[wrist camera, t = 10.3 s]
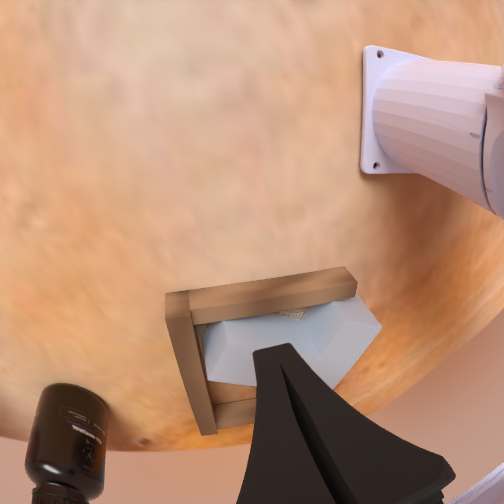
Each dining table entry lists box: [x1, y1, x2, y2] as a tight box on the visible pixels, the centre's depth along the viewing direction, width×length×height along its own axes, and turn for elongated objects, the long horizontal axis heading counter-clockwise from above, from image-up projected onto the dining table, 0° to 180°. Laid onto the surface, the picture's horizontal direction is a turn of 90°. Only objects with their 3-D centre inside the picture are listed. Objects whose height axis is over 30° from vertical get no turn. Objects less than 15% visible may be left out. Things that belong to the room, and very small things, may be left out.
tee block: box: [202, 294, 382, 390], centre depth 22 cm, size 10×10×4 cm
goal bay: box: [165, 267, 358, 436], centre depth 23 cm, size 12×14×2 cm
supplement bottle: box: [25, 383, 108, 504], centre depth 18 cm, size 7×7×12 cm
